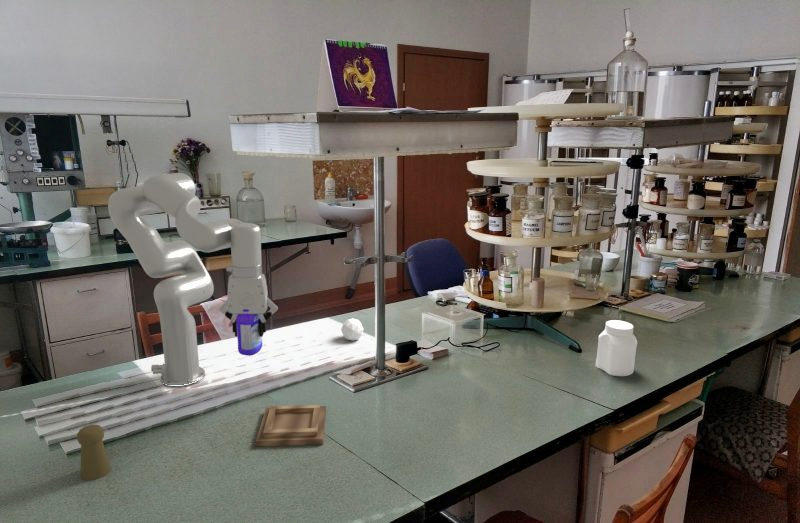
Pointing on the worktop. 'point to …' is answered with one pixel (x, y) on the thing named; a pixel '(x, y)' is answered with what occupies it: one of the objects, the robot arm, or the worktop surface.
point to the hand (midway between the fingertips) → (249, 334)
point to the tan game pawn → (93, 453)
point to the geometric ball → (352, 329)
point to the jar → (617, 348)
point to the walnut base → (292, 425)
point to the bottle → (248, 333)
